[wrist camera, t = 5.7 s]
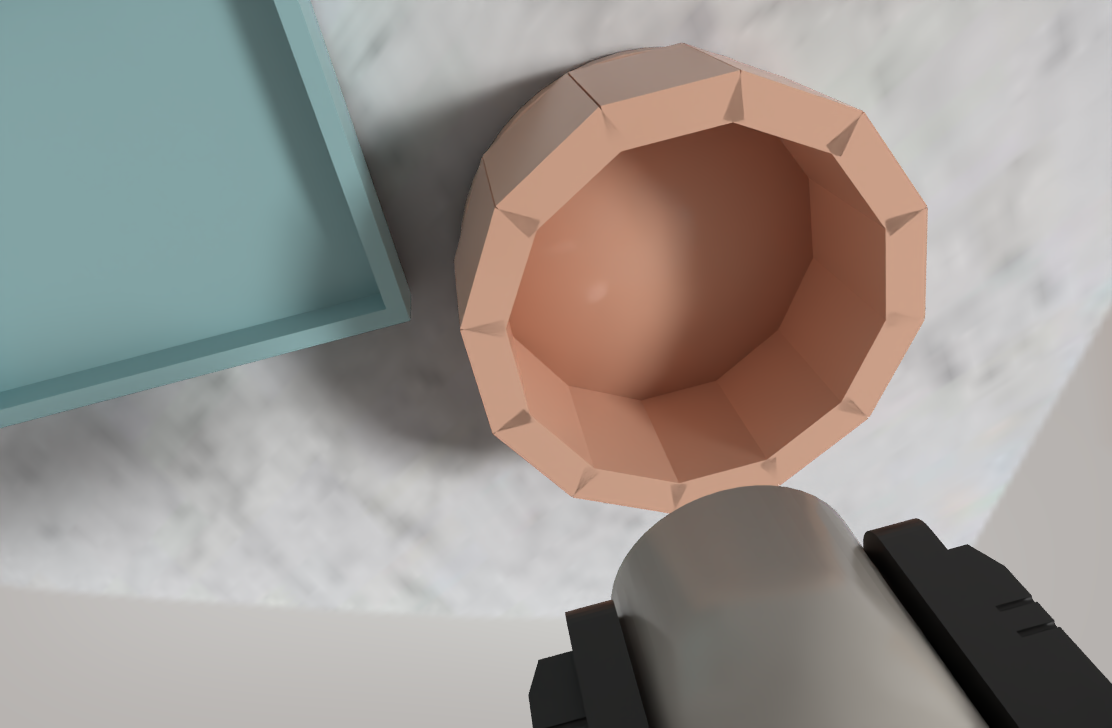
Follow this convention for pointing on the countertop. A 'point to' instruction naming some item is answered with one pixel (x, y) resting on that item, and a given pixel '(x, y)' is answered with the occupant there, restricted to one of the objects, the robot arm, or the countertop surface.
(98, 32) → the tray
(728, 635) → the beige rounded cylinder
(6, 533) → the countertop surface
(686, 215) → the bowl
